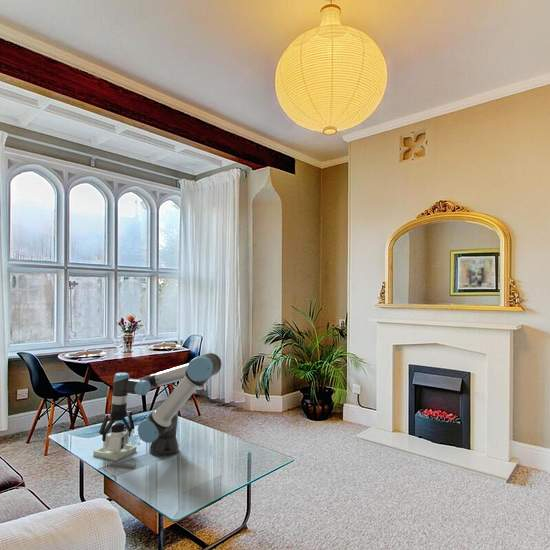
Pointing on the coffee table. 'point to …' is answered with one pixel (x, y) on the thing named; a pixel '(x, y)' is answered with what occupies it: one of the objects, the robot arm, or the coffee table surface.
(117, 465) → the puller tool
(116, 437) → the container
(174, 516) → the coffee table surface
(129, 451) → the parts tray
